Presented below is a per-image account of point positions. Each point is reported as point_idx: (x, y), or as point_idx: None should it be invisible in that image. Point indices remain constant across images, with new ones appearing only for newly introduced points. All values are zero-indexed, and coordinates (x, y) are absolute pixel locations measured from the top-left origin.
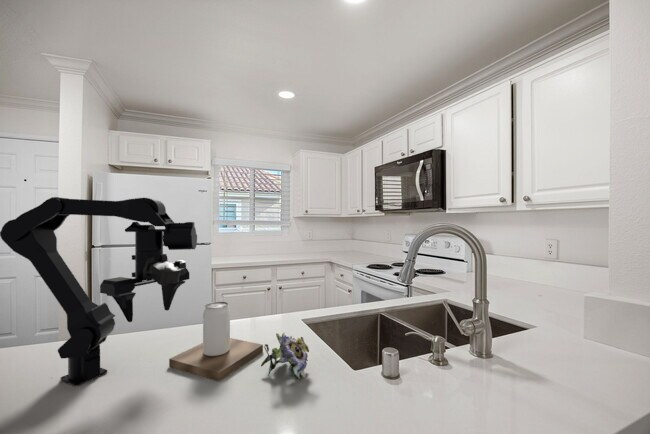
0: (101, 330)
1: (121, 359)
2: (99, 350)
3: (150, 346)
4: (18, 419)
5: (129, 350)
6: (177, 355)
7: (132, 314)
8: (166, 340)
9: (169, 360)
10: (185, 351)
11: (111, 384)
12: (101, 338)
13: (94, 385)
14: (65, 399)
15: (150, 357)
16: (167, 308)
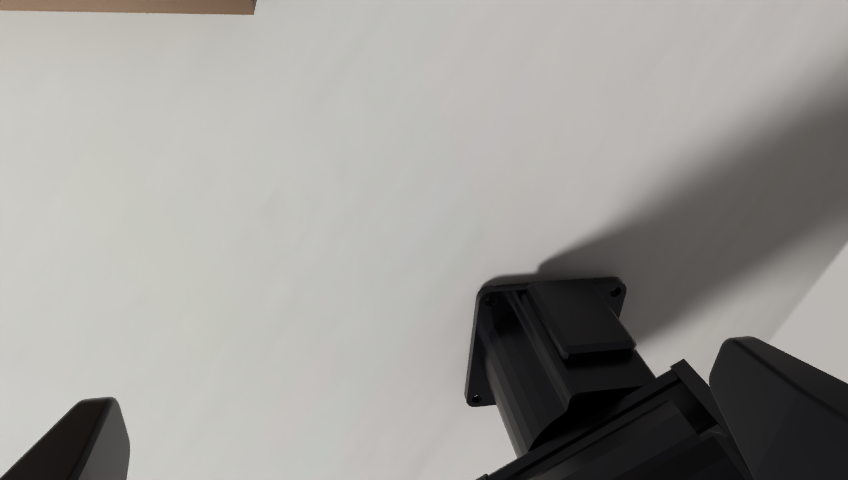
0: (710, 468)
1: (342, 372)
2: (574, 387)
3: (138, 402)
4: (844, 207)
5: (249, 439)
6: (167, 2)
7: (829, 398)
8: (6, 407)
9: (252, 9)
10: (64, 2)
11: (561, 146)
12: (651, 423)
13: (589, 215)
14: (711, 203)
15: (235, 263)
16: (107, 424)
